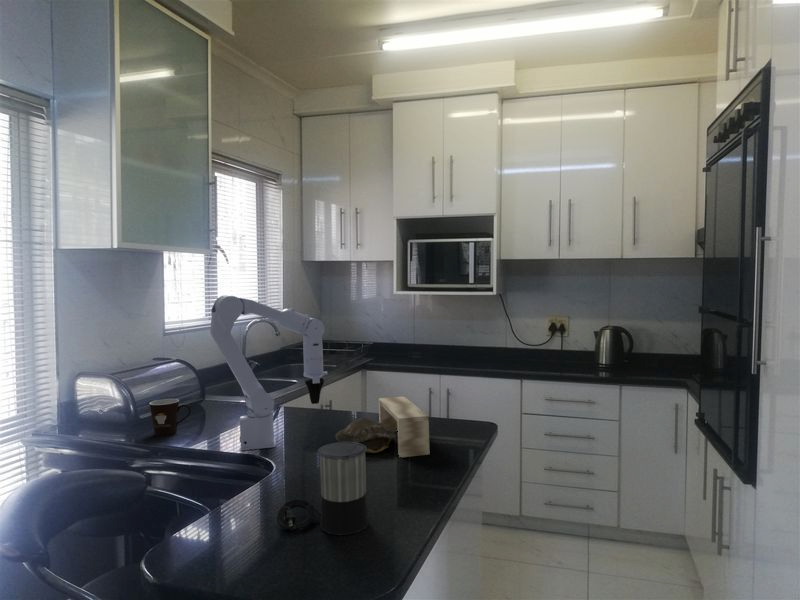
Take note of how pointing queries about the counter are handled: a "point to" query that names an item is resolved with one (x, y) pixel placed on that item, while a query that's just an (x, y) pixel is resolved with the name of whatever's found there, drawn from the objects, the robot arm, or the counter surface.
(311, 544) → the counter surface
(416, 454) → the birch shelf
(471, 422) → the counter surface
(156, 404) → the coffee mug
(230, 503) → the counter surface
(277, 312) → the robot arm
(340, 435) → the turtle shell
